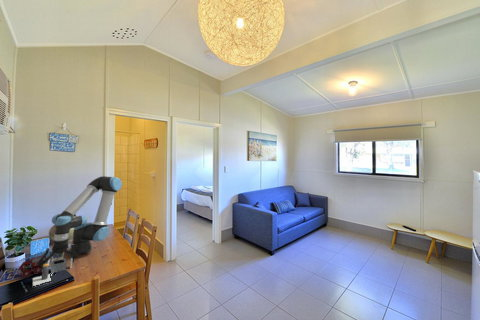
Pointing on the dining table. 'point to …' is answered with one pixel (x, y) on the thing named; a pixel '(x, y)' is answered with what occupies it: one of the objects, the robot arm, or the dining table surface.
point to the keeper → (43, 276)
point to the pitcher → (52, 233)
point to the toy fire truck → (27, 269)
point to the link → (58, 265)
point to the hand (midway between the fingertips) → (57, 270)
